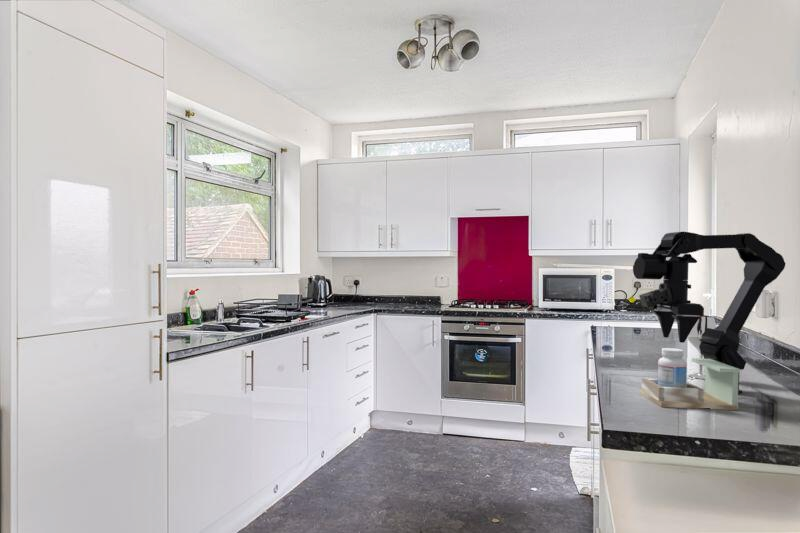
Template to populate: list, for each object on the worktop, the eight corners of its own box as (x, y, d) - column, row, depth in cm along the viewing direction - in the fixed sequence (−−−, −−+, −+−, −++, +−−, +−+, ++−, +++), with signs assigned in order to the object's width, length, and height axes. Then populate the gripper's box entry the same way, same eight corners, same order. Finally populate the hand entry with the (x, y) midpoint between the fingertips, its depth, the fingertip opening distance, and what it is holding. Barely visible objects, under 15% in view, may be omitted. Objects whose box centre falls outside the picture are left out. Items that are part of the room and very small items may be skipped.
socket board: (708, 395, 133) (709, 379, 133) (738, 410, 120) (739, 392, 120) (639, 392, 134) (639, 377, 134) (661, 406, 121) (661, 389, 121)
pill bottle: (681, 394, 130) (682, 348, 130) (689, 400, 124) (690, 352, 124) (654, 392, 131) (655, 346, 131) (661, 398, 125) (662, 350, 125)
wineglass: (686, 378, 154) (688, 316, 153) (683, 373, 161) (685, 313, 161) (719, 381, 151) (721, 318, 150) (714, 376, 158) (716, 315, 158)
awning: (708, 395, 133) (709, 358, 133) (738, 410, 120) (739, 369, 120) (690, 395, 133) (691, 358, 133) (718, 409, 120) (719, 368, 120)
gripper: (630, 278, 148) (628, 333, 149) (659, 280, 130) (656, 344, 130) (671, 279, 148) (669, 335, 148) (706, 281, 129) (704, 345, 129)
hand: (673, 339), depth 139 cm, fingers open, 9 cm apart
